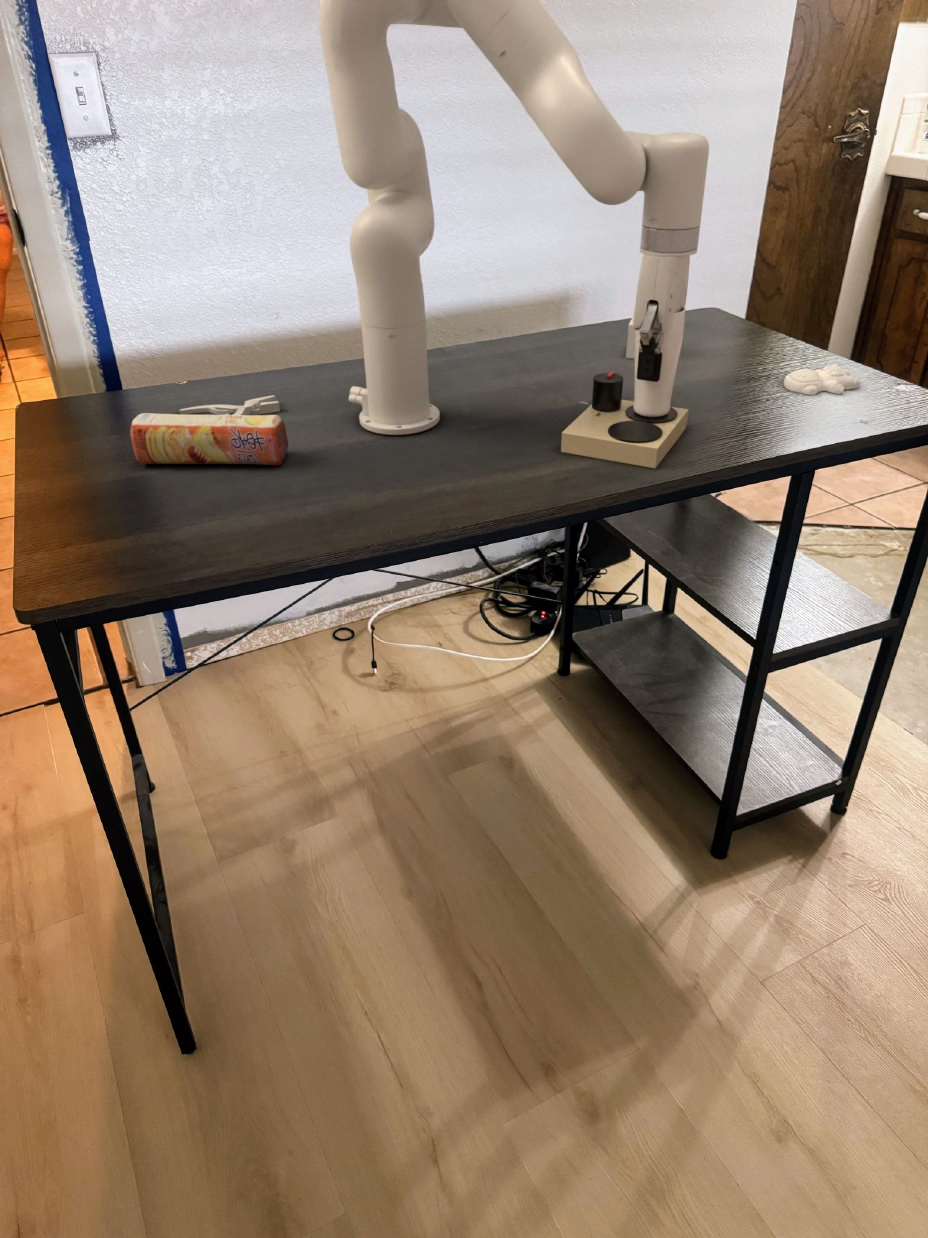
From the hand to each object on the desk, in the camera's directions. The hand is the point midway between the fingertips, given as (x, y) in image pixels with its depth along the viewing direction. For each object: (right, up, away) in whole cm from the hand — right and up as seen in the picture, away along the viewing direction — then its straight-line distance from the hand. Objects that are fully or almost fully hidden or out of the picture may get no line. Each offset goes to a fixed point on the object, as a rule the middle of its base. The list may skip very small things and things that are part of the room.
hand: (656, 370), depth 126 cm
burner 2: (-3, -9, -2) cm, 10 cm away
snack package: (-64, -13, +1) cm, 65 cm away
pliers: (-65, -3, +15) cm, 67 cm away
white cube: (+6, +13, +37) cm, 39 cm away
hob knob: (-6, -4, +6) cm, 10 cm away
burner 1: (0, -5, +4) cm, 6 cm away
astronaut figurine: (+32, +3, +21) cm, 38 cm away
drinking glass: (0, -5, +4) cm, 6 cm away
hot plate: (-4, -9, +3) cm, 11 cm away
